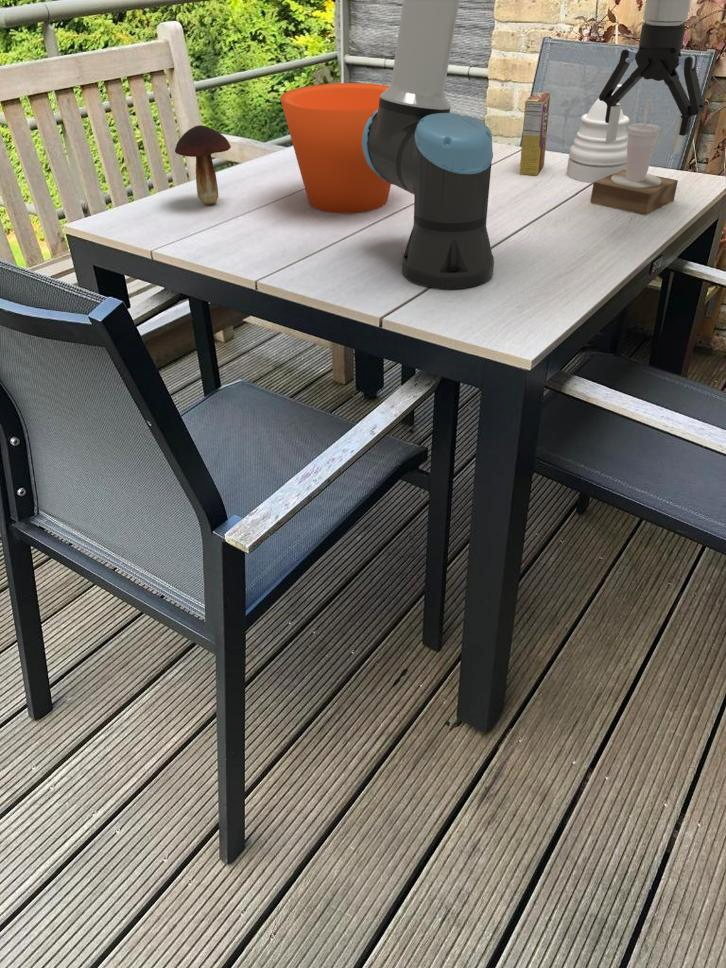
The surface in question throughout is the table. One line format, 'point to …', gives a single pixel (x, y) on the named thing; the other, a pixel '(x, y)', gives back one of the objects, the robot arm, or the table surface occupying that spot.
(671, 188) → the pedestal
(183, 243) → the table surface
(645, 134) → the smoothie
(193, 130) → the decorative mushroom
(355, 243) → the table surface
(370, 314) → the table surface
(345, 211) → the flowerpot
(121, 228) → the table surface
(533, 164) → the candy box
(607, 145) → the honey pot
